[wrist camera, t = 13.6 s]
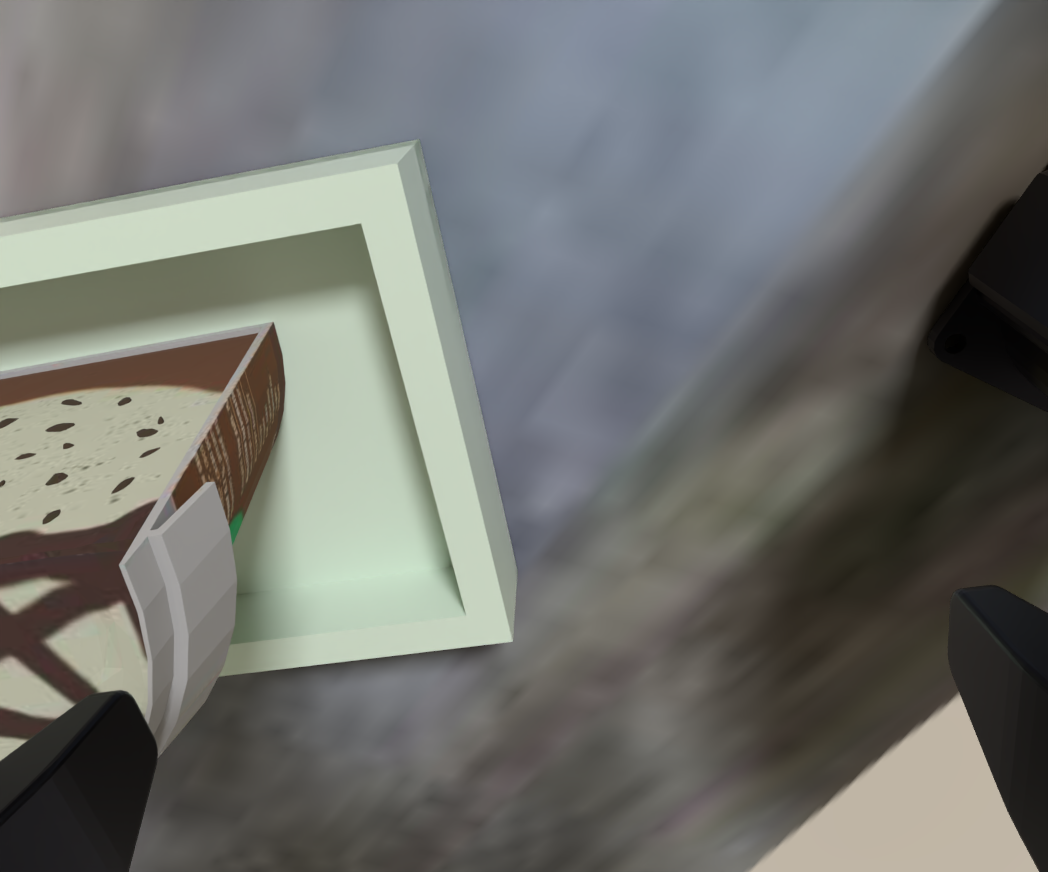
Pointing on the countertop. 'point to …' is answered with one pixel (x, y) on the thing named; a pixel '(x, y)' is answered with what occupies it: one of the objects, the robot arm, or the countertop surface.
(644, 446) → the countertop surface
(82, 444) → the food container
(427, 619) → the tray
